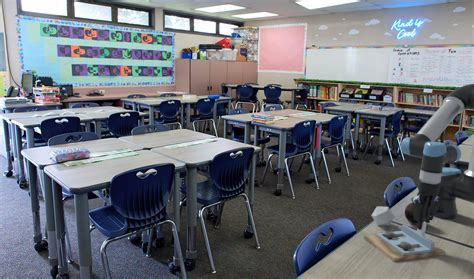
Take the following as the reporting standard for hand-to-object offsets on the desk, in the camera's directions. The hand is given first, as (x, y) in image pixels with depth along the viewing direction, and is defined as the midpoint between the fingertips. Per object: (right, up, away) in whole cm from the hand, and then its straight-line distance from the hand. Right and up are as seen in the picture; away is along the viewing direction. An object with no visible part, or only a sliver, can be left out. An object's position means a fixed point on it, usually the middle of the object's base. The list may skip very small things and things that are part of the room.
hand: (420, 236), depth 146 cm
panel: (-8, -2, -2) cm, 8 cm away
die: (-8, 0, +18) cm, 20 cm away
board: (-8, -4, -1) cm, 9 cm away
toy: (+8, 0, +21) cm, 22 cm away
